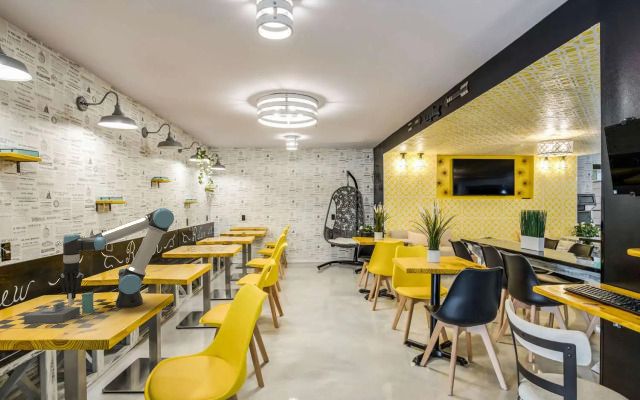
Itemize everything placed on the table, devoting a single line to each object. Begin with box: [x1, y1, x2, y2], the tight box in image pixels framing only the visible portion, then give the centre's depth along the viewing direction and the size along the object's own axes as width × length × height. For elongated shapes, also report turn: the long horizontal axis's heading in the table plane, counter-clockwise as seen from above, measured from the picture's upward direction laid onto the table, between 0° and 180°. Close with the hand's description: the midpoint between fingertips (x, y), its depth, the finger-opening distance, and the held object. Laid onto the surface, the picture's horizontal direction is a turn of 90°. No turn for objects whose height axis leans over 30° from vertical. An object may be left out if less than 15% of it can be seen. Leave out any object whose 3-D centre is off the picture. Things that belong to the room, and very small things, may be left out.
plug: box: [81, 292, 95, 314], centre depth 202 cm, size 4×4×11 cm
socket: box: [23, 306, 81, 325], centre depth 190 cm, size 20×14×4 cm
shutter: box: [41, 301, 66, 313], centre depth 190 cm, size 8×8×4 cm
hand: (71, 304), depth 191 cm, fingers closed
